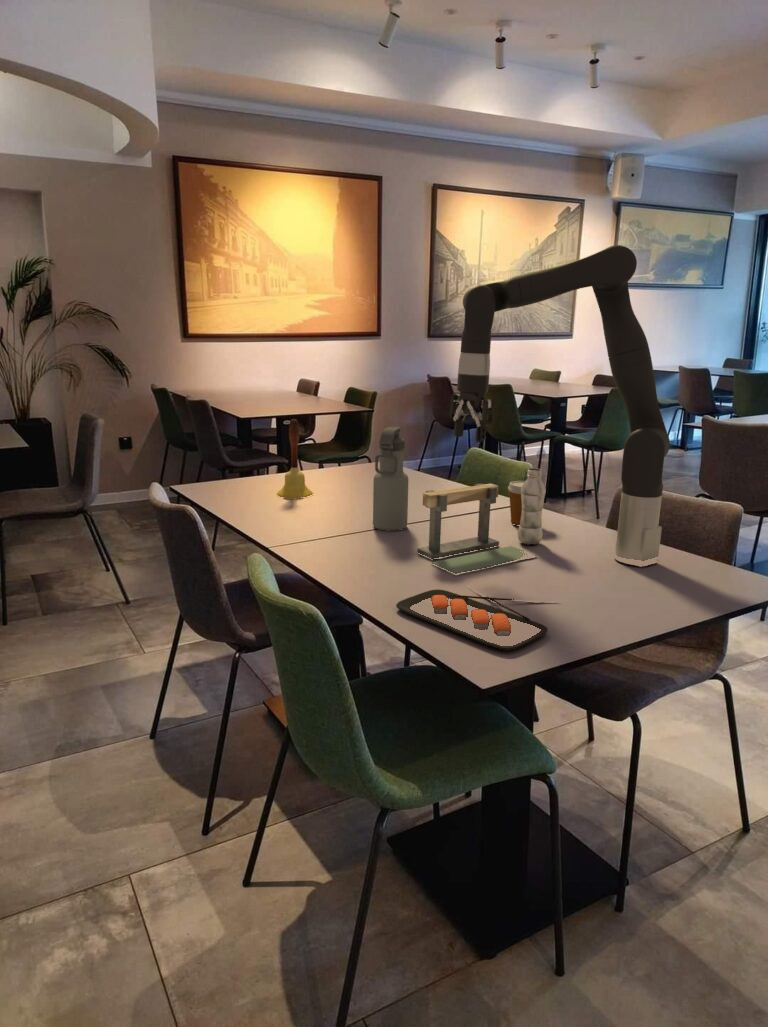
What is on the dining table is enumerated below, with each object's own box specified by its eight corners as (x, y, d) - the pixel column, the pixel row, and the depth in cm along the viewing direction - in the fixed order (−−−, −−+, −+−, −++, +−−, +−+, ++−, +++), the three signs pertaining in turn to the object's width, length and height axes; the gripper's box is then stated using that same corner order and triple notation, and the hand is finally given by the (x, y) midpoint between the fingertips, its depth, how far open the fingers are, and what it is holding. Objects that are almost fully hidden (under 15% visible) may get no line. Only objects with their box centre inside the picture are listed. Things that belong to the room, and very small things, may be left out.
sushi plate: (389, 613, 145) (389, 595, 144) (481, 578, 165) (482, 563, 164) (507, 661, 125) (508, 641, 124) (596, 615, 145) (597, 598, 144)
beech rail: (498, 497, 185) (498, 485, 184) (430, 507, 173) (430, 495, 173) (490, 494, 188) (490, 483, 187) (422, 505, 176) (422, 493, 175)
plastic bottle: (542, 541, 193) (548, 468, 188) (540, 548, 187) (546, 472, 182) (518, 539, 195) (523, 466, 190) (515, 546, 188) (520, 471, 183)
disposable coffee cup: (524, 530, 203) (527, 489, 200) (498, 523, 210) (501, 483, 207) (545, 525, 209) (548, 484, 205) (520, 518, 216) (522, 479, 213)
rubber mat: (536, 557, 179) (536, 555, 179) (455, 575, 165) (455, 573, 165) (511, 548, 186) (511, 545, 186) (431, 564, 172) (431, 562, 172)
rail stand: (499, 546, 187) (502, 486, 183) (431, 560, 175) (434, 496, 171) (483, 541, 192) (486, 482, 188) (417, 554, 180) (419, 491, 176)
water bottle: (400, 533, 198) (403, 432, 190) (367, 529, 201) (368, 429, 193) (411, 524, 207) (414, 427, 200) (379, 520, 210) (381, 425, 203)
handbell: (279, 489, 247) (278, 416, 240) (315, 490, 246) (315, 417, 240) (273, 498, 235) (271, 421, 228) (310, 499, 234) (310, 422, 228)
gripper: (505, 374, 169) (499, 443, 173) (468, 369, 181) (463, 434, 185) (479, 375, 165) (474, 445, 169) (443, 369, 177) (439, 435, 181)
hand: (468, 439), depth 177 cm, fingers open, 8 cm apart
